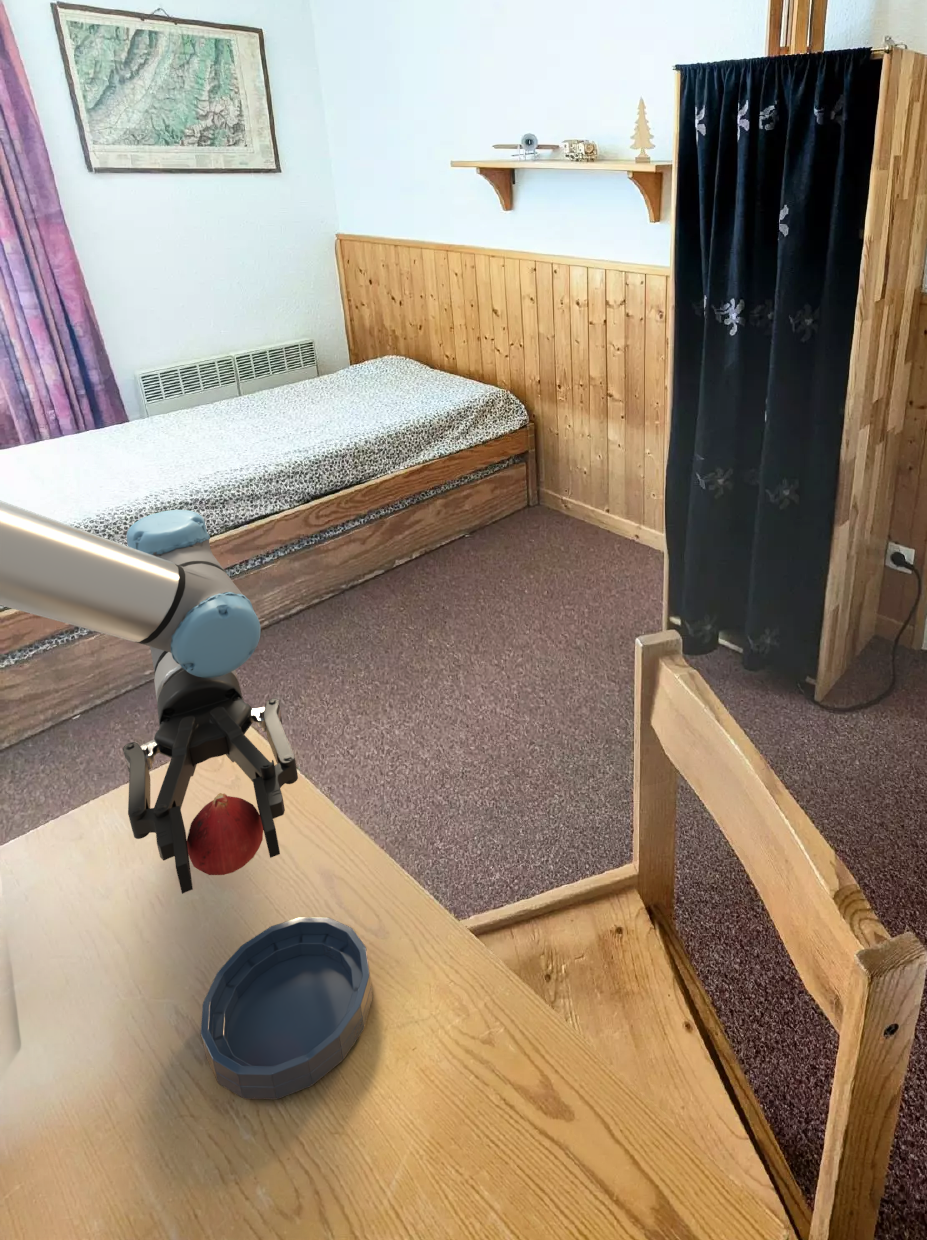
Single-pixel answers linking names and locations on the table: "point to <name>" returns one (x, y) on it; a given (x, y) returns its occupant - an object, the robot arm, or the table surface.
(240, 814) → the red oval fruit
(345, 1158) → the table surface
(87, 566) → the robot arm
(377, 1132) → the table surface
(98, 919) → the table surface
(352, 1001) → the bowl
